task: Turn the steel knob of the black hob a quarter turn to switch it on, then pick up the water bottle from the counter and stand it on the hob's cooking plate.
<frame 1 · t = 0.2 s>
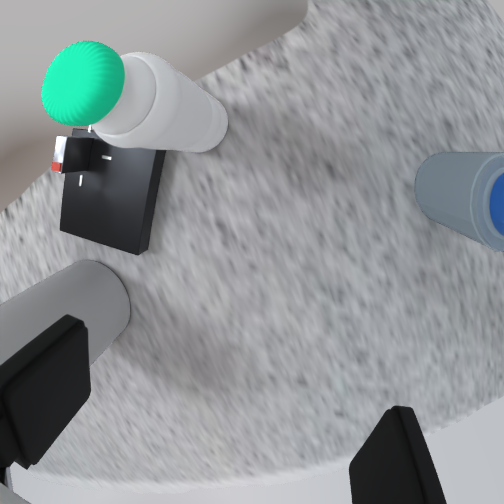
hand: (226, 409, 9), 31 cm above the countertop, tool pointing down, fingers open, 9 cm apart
spray bottle: (444, 188, 35), on the countertop
hob: (113, 187, 40), on the countertop
cylinder vase: (97, 298, 45), on the countertop
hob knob: (72, 153, 33), point 6 cm above the countertop, hinge at 0.0°
water bottle: (200, 124, 36), on the countertop
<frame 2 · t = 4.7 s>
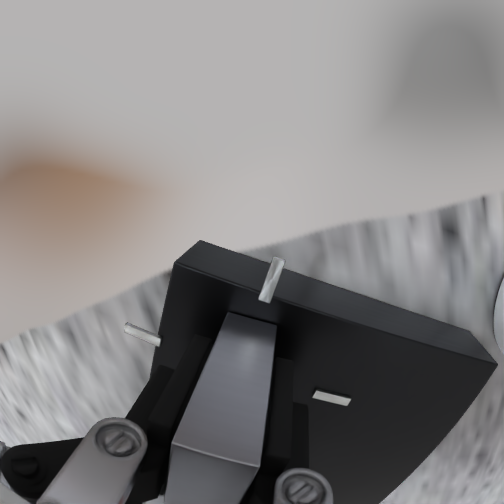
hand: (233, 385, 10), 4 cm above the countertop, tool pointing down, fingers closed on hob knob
hob: (292, 413, 15), on the countertop
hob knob: (221, 428, 8), point 6 cm above the countertop, hinge at 4.0°, touching gripper
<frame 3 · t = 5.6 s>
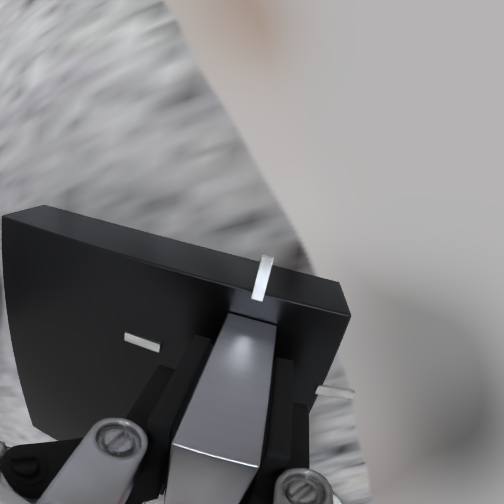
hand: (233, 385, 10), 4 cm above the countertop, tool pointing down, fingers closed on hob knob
hob: (154, 364, 15), on the countertop
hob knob: (221, 428, 8), point 6 cm above the countertop, hinge at 89.2°, touching gripper
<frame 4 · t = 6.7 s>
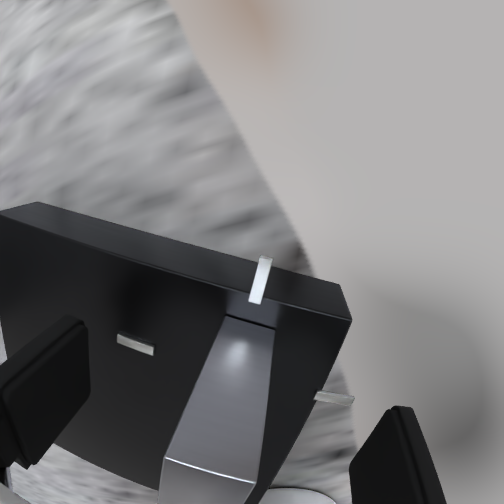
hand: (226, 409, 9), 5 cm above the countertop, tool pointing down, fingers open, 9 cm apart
hob: (148, 366, 14), on the countertop
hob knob: (216, 436, 7), point 6 cm above the countertop, hinge at 88.6°
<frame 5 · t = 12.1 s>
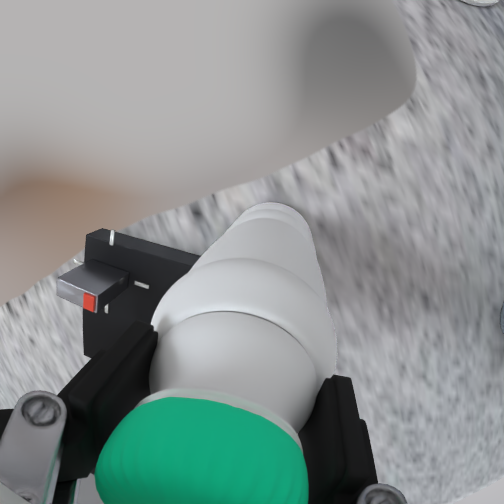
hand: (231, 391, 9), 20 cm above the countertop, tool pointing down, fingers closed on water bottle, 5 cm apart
hob: (150, 309, 32), on the countertop
cylinder vase: (135, 414, 37), on the countertop
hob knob: (92, 284, 25), point 6 cm above the countertop, hinge at 88.6°
water bottle: (271, 241, 29), on the countertop, touching gripper
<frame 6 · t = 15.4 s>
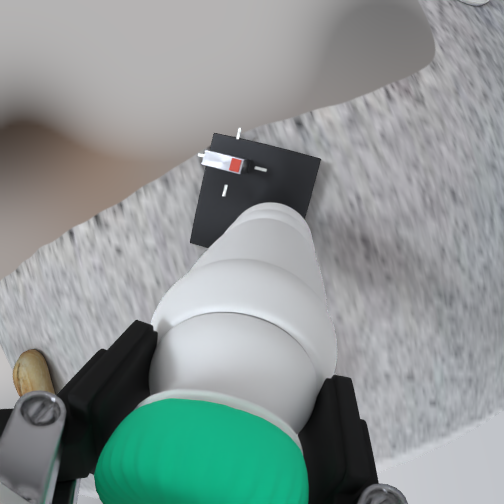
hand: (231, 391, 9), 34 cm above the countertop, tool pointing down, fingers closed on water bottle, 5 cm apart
bread roll: (44, 374, 56), on the countertop
hob: (255, 199, 41), on the countertop
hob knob: (227, 161, 35), point 6 cm above the countertop, hinge at 88.6°
water bottle: (271, 241, 29), point 14 cm above the countertop, touching gripper
when the fingers open (23 cm above the countertop, at t = 18.8 s): water bottle stays where it is, resting on hob.
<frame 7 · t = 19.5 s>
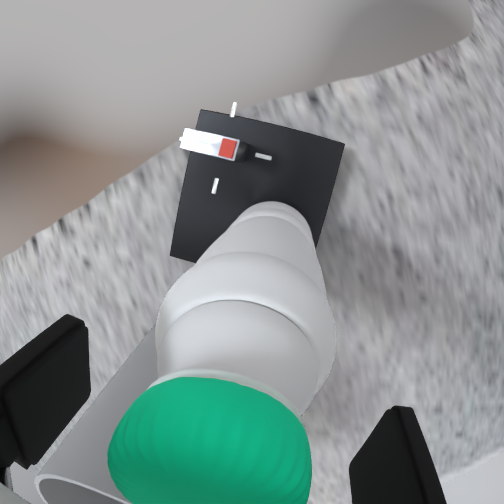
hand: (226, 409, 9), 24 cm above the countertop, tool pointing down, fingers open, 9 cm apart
hob: (256, 197, 31), on the countertop
cylinder vase: (211, 341, 36), on the countertop
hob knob: (217, 145, 25), point 6 cm above the countertop, hinge at 88.6°
water bottle: (272, 239, 29), point 3 cm above the countertop, touching hob
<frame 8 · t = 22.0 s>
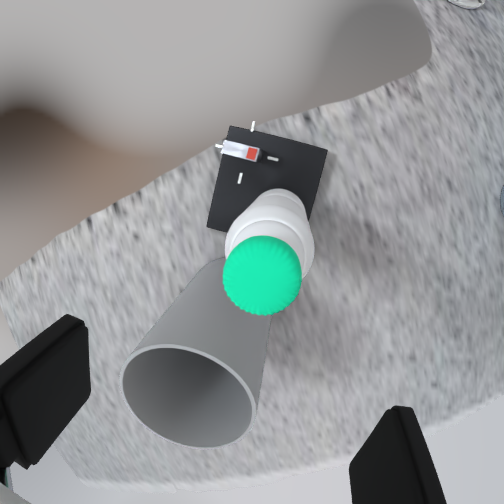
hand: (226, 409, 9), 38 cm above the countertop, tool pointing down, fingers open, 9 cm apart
hob: (267, 186, 45), on the countertop
cylinder vase: (233, 294, 50), on the countertop
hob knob: (243, 151, 38), point 6 cm above the countertop, hinge at 88.6°
water bottle: (278, 214, 43), point 3 cm above the countertop, touching hob
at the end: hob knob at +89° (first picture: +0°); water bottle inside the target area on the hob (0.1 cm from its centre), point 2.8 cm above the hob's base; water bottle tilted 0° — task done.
